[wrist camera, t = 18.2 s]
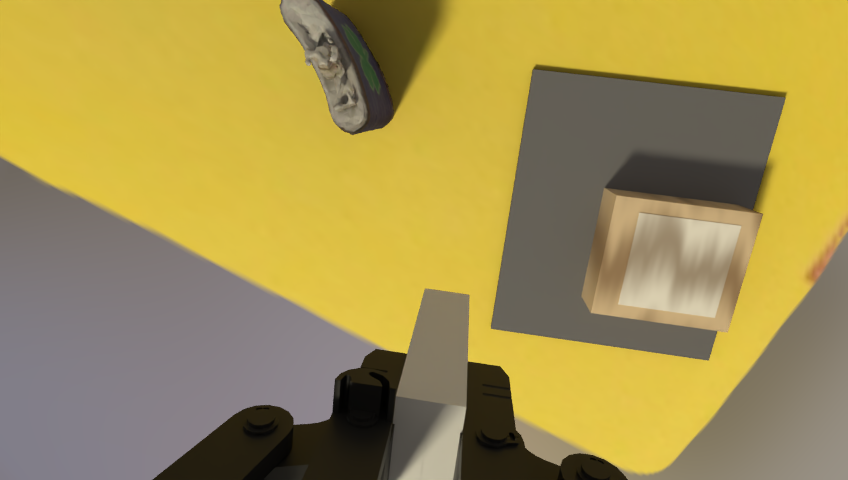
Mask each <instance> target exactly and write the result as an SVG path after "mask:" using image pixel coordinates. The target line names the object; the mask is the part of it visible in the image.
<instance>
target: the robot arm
mask: <svg viewBox="0 0 848 480" xmlns="http://www.w3.org/2000/svg"><path fill="white" fill-rule="evenodd" d="M468 326H469V295H468V294H461V293H453V292H446V291H439V290H432V289H425V291H424V294H423V298H422V302H421V305H420V309H419V313H418V316H417V320H416V324H415V327H414V331H413V335H412V339H411V342H410V346H409V350H408V353H407V354H405V353H399V352H392V351H385V350H379V349H376V350H374V351H373V352H371V353H370V354H368V355H367V356H365V358H364V360H363V363H362V365H361V368H357V369H351V370H347V371H345V372H343V373H341V374H340V375H339V376H338V377H337V378H336V379H335V386H334V399H333V413H332V415H331V417H330V419H329V420H326V421H323V422H319V423H313V424H300V425H293V417H292V416H291V415H290V413H289V412H288V411H286V410H284V409H282V408H280V407H276V406H271V405H260V406H253V407H250V408H246V409H244V410H242V411H240V412H238V413H236V414H235V415H233V416H232V417H231V418H230V419H228V420H227V421H226V422H225V423H223V424H222V425H221V426H219V427H218V428H217V429H216V430H214V431H213V432H212V433H211V434H209V435H208V436H207V437H206V438H205V439H203V440H202V441H201V442H199V443H198V444H197V445H196V446H194V447H193V448H192V449H191V450H189V451H188V452H187V453H186V454H184V455H183V456H182V457H181V458H179V459H178V460H177V461H175V462H174V463H173V464H172V465H170V466H169V467H168V468H167V469H165V470H164V471H163V472H162V473H160V474H159V475H158V476H157V477H155V478H154V479H153V480H627V478H626V477H625V476H624V474H623V473H622V472H620V471H619V469H618V468H617V467H615V466H614V465H612V464H611V463H609V462H608V461H606V460H604V459H601V458H599V457H596V456H593V455H588V454H580V453H579V454H573V455H569V456H567V457H566V458H564V459H563V460H562V464H561V466H558V465H556V464H553V463H551V462H548V461H545V460H543V459H541V458H539V457H537V456H535V455H534V454H532V453H531V452H529V451H528V450H527V449H526V448H525V445H524V441H523V439H522V437H521V435H520V434H519V433H518V432H517V431H516V428H515V420H514V412H513V405H512V400H511V398H512V397H511V390H510V381H509V377H508V375H507V374H506V373H505V372H504V370H503V369H502V368H501V367H500V366H494V365H487V364H481V363H474V362H468Z"/></svg>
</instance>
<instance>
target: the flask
mask: <svg viewBox="0 0 848 480" xmlns="http://www.w3.org/2000/svg"><path fill="white" fill-rule="evenodd" d="M280 10H281V14H282V16H283V19H284V22H285V23H286V25H287V26H288V27H289V29H290V30H291V31H292V32H293V34H294V35H295V36H296V38H297V39H298V41H299V42H300V43H301V45H302V46H303V48H304V50H305V57H306V62H305V63H306V64H307V65H308V66H310V65H311V63H312V65H313V67H314V69H315V71H316V73H317V75H318V77H319V79H320V82H321V84H322V87H323V89H324V92H325V94H326V98H327V101H328V106H329V111H330V113H331V116H332V118H333V121H334V123H335V124H336V125H337V126H338V127H339V128H340V129H342V130H343V131H344V132H347V133H350V134H351V135H354V134H358V133H362V132H366V131H369V130H375V129H379V128H383V127H384V126H386V125H387V124H388V123H389V122H390V121H391V120H392V119H393V114H394V110H393V103H392V99H391V96H390V93H389V89H388V85H387V84H386V81H385V77H384V75H383V72H382V71H381V69H380V66H379V64H378V62H377V61H376V60H375V58H374V57H373V54H372V53H371V51H370V50H369V48H368V46H367V44H366V42H364V40H363V38H362V36H361V34H360V33H359V31H358V30H357V28H356V27H355V25H353V23H352V22H351V21H350V19H349V18H348V17H347V16H346V15H345V14H343V13H341V12H339V11H338V10H337V9H335V8H333V7H331V6H330V5H329V4H327V3H325V2H324V1H323V0H281V4H280ZM310 61H311V63H310Z"/></svg>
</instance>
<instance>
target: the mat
mask: <svg viewBox="0 0 848 480" xmlns="http://www.w3.org/2000/svg"><path fill="white" fill-rule="evenodd" d="M784 102H785V98H784V97H775V96H766V95H757V94H749V93H740V92H731V91H722V90H713V89H704V88H695V87H686V86H677V85H669V84H660V83H651V82H642V81H633V80H624V79H615V78H606V77H597V76H589V75H580V74H571V73H562V72H553V71H544V70H535V69H533V71H532V77H531V83H530V90H529V96H528V102H527V108H526V114H525V120H524V126H523V133H522V139H521V145H520V151H519V157H518V163H517V170H516V176H515V182H514V188H513V194H512V200H511V206H510V213H509V219H508V225H507V231H506V237H505V243H504V250H503V256H502V262H501V268H500V274H499V280H498V286H497V293H496V299H495V305H494V311H493V317H492V323H491V329H497V330H503V331H510V332H517V333H524V334H531V335H538V336H545V337H551V338H558V339H565V340H572V341H579V342H586V343H593V344H599V345H606V346H613V347H620V348H627V349H634V350H641V351H647V352H654V353H661V354H668V355H675V356H682V357H689V358H695V359H702V360H709V358H710V354H711V351H712V347H713V344H714V341H715V337H716V334H717V331H714V330H707V329H700V328H693V327H686V326H679V325H672V324H665V323H658V322H651V321H644V320H637V319H630V318H623V317H616V316H609V315H601V314H594V313H591V312H590V311H589V309H588V307H587V305H586V304H585V302H584V300H583V298H582V296H581V295H582V291H583V286H584V281H585V276H586V272H587V267H588V262H589V257H590V253H591V248H592V243H593V238H594V234H595V229H596V224H597V219H598V215H599V210H600V205H601V200H602V196H603V191H604V188H610V189H618V190H625V191H633V192H641V193H649V194H657V195H665V196H673V197H681V198H689V199H697V200H705V201H713V202H720V203H728V204H736V205H740V206H743V207H745V208H748V209H751V210H753V208H754V204H755V201H756V197H757V194H758V190H759V187H760V184H761V180H762V177H763V173H764V170H765V167H766V163H767V160H768V156H769V153H770V150H771V146H772V143H773V139H774V136H775V132H776V129H777V126H778V122H779V119H780V115H781V112H782V109H783V105H784Z"/></svg>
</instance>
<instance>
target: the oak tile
mask: <svg viewBox="0 0 848 480" xmlns="http://www.w3.org/2000/svg"><path fill="white" fill-rule="evenodd" d="M762 216H763V214H761V213H759V212H756V211H753V210H751V209H748V208H745V207H743V206H740V205H736V204H728V203H720V202H713V201H705V200H697V199H689V198H681V197H673V196H665V195H657V194H649V193H641V192H633V191H625V190H618V189H610V188H604V191H603V196H602V200H601V205H600V210H599V215H598V219H597V224H596V229H595V234H594V238H593V243H592V248H591V253H590V257H589V262H588V267H587V272H586V276H585V281H584V286H583V291H582V295H581V296H582V298H583V300H584V302H585V304H586V305H587V307H588V309H589V311H590V312H591V313H594V314H601V315H609V316H616V317H623V318H630V319H637V320H644V321H651V322H658V323H665V324H672V325H679V326H686V327H693V328H700V329H707V330H714V331H721V332H728V329H729V326H730V323H731V319H732V316H733V313H734V309H735V306H736V303H737V299H738V296H739V293H740V289H741V286H742V283H743V279H744V276H745V273H746V269H747V266H748V262H749V259H750V256H751V252H752V249H753V246H754V242H755V239H756V236H757V232H758V229H759V226H760V222H761V219H762Z"/></svg>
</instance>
